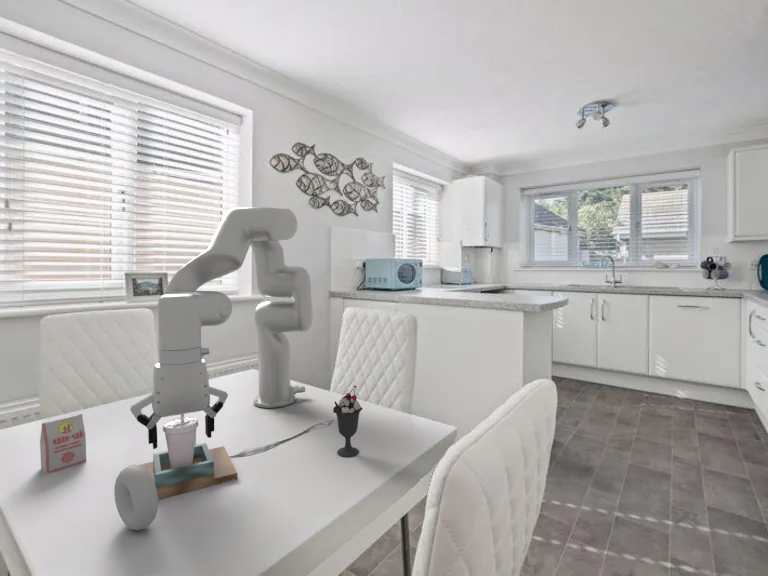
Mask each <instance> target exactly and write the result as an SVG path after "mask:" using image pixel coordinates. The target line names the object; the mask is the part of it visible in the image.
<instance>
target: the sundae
mask: <svg viewBox="0 0 768 576" xmlns="http://www.w3.org/2000/svg"><path fill="white" fill-rule="evenodd" d="M357 387H358V386H357V385H354V386H353V388H352V389H351V390H350V392H347V393H346V394H345V395H344V396H342V397H341V398H340V400H339V402H337V401H334V405H335V406H334V407H333V408H332V411H333V413H334V414H335V415H336V420H337V427H338V432H339V434H340V435H341V436H342V437H344V439H345V441H344V442H345V444H344V446H343V447H340V448H339V449H338V450H337V452H336V454H337V455H338V456H340V457H343V458H351V457H355V456H357V455H358V454H359V453H360V450H359V449H358V448H357V447H354V446H352V443H351V440H352V439H351V438H352V437H353V436H354V435H356V433H357V431H358V426H359V417H360V412H361V411H362V410H363V407H362V406H361V404H360V403H359V401H358V400H357V399H358V397H357V395H356V394H355V390H356V388H357ZM352 391H353V395H352V394H351V392H352Z"/></svg>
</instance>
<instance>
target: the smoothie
mask: <svg viewBox="0 0 768 576" xmlns="http://www.w3.org/2000/svg"><path fill="white" fill-rule="evenodd" d="M198 427H199V419H198V418H197V417H193V416H185V414H181V415H180V417H175V418H172V419H169V420H168V421H166V422H164V423H163V425H162V432H164V434H165V441H166V447H167V451H168V454H169V460H170V465H171V469H173V468H178V467H182V466H186V465H191V464H193V455H194V446H195V438H196V439H197V428H198Z"/></svg>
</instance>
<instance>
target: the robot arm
mask: <svg viewBox="0 0 768 576" xmlns="http://www.w3.org/2000/svg"><path fill="white" fill-rule="evenodd" d="M297 230H298V220H297V217H296V214H295V213H294V212H293V211H292V210H291V209H289V208H277V207H269V206H268V207H267V206H265V207H264V206H262V207H260V206H259V207H257V206H256V207H234V208H231V209H229V210H227V212H225V213H224V215H223V217H222V218H221V221H220V222H219V225H218V227H217V228H216V231H215V233H214V235H213V237H212V239H211V241H210V243H209V246H208V247H207V249H206V250H205V251H203V252H202V253H200V254H198V255H197V256H196V257H194V258H193V259H191V260H190V261H189V262H187V263H186V264H184V265H183V266H182V267H180V268H179V269H178V270H177V271H176V273H174V275H173V276H172V278H171V279H170V281H169V283H168V285H167V287H166V289H165V291H164V293H163V295H161V296H160V297H159V299H158V302H157V317H158V318H157V322H158V323H157V325H158V327H157V328H158V331H157V332H158V363H156V364H154V368H153V374H152V385H151V386H152V387H151V388H152V389H151V391H152V392H151V394H149V395H148V396H146V397H144V398H143V399H142V400H141V399H140V400H139V401H137V402H136V403H134V404H132V405H131V406H130V413H132V415H133V417H134V418H135V420H136V421H137V422H138V423H139V424H141V425H142V426H144V427H146V429H147V431H148V436H147V437H148V445H152V450H156V449H158V427H157V426H158V425H157V424H158V422H159V421H160V420H161V418H167V417H173V416H181V414H184V415H185V414H190V413H192V414H193V413H197V412H202V411H203V412H204V413H205V416H204V419H205V421H204V422H205V428H204V430H205V435H206V436H207V438H209V439H210V438H212V432H215V418H216V416H217V414H218V413H219V412H220V411H221V409H222V408H223V407H224V404H225V403H226V400H227V398H228V397H229V394H228V392H227V391H224V390H221V389H220V388H219V389H218V388H215V387H213V386H210V383H209V375H208V374H209V373H208V367H207V364H206V360H205V359H203V357H204V356H206V355H210V348H209V347H204V346H202V327H215V326H220V325H222V324H224V323H225V322H226V321H228V320H229V318H230V316H231V315H232V311H233V303H232V301H231V298H229V296H228V295H227V294H225V293H224V292H221V291H215V290H214V291H213V290H199V288H200V287H202V286H203V285H205V284H207V283H208V282H210V281H213V280H215V279H219V278H222V277H224V276H227V275H229V274H232V273H234V272H236V271H239V269H240V268H241V267H242V266H243V264H244V262H245V259H246V257H247V253H248V252H249V250H250V248H251V249H252V251H253V256H254V263H255V265H254V266H255V274H256V275H255V276H256V285H257V290H258V293H259V294H260V295H261V296H263V297H266V298H291V299H292V300H293V301H291V300H289V301H288V300H267V301H263V302H261V303H259V304H258V305H257V306H256V308H255V310H254V322H255V326H256V333H257V334H256V335H257V343H258V344H257V346H258V347H257V349H258V354H257V355H258V395H257V396H255V397H254V398H253V404H254V405H255V406H256V407H259V408H265V409H272V408H273V409H274V408H276V409H277V408H282V407H286V406H289V405H291V404H293V403H294V402H295V401H296V394H300V393H301V394H302V393H305V392H306V387H305V385H303V386H299V385H294V386H293V385H291V345H290V342H289V339H288V338H287V336H286V335H285V333H305V332H308V331H309V330H310V329H311V327H312V324H313V303H312V301H313V300H312V285H311V277H310V274H309V272H308V270H307V269H306V268H304V267H302V266H297V265H296V266H294V265H293V266H292V265H291V266H289V265H288V266H287V265H286V263H285V255H284V248H283V246H282V245H281V243H280V241H287V240H291V239H292V238H293V237H294V236H295V235H296V233H297V232H298V231H297ZM211 395H212V396H214V397H217V398H218V399H217V401H216V402H215V403H214V404H213V405H212V406H211V398H210V397H211ZM149 405H151V407H152V413H151V414H150V416H147V415H146V414H144V413H143V411H142V409H144V408H146V407H147V406H149Z"/></svg>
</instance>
